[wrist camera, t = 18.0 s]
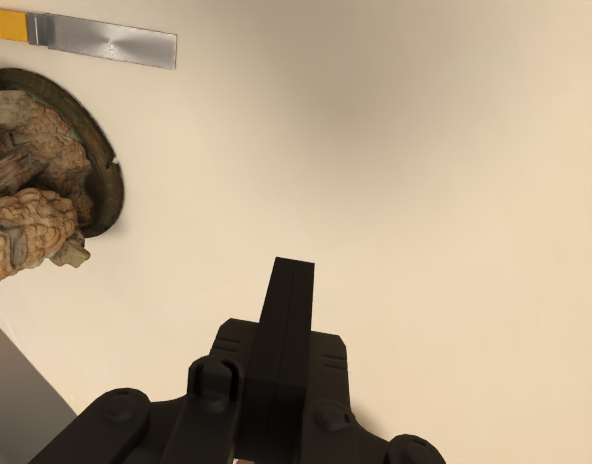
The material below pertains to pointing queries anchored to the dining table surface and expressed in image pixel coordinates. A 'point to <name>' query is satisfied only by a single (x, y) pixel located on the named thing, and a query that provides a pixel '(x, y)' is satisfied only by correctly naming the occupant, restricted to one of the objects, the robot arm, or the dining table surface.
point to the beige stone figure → (50, 175)
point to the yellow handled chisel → (90, 38)
